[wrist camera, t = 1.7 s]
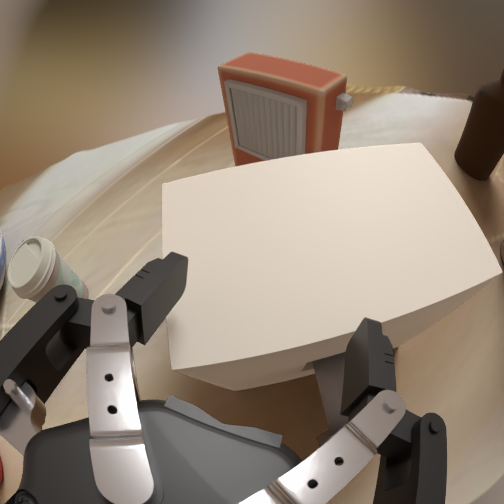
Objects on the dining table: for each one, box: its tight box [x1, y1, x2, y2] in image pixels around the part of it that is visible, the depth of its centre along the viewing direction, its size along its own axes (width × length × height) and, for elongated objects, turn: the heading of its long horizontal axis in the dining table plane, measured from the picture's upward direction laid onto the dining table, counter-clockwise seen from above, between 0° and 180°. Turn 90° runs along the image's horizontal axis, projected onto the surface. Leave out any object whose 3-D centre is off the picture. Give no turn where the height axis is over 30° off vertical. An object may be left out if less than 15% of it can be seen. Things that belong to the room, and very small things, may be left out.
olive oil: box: [455, 70, 504, 180], centre depth 33 cm, size 11×11×25 cm
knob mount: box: [162, 143, 502, 391], centre depth 24 cm, size 20×12×20 cm, turn 101°
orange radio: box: [218, 52, 354, 166], centre depth 33 cm, size 21×7×15 cm
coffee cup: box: [7, 236, 88, 303], centre depth 32 cm, size 9×9×12 cm
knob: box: [312, 352, 348, 447], centre depth 19 cm, size 6×9×6 cm
